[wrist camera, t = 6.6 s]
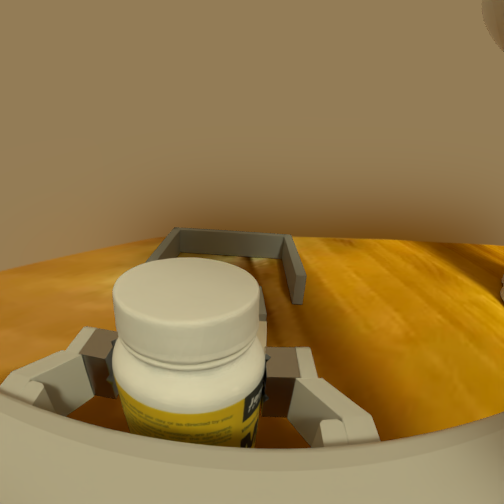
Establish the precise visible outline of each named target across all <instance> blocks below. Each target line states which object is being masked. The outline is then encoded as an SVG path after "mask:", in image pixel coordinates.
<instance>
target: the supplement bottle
mask: <svg viewBox="0 0 504 504" xmlns="http://www.w3.org/2000/svg"><path fill="white" fill-rule="evenodd" d="M259 299H260V289H259V285H258V283H257V281H256V279H255V278H254V277H253V276H252V275H251V274H250V273H248V272H247V271H245V270H244V269H242V268H240V267H238V266H235V265H232V264H229V263H226V262H222V261H218V260H213V259H206V258H194V257H184V258H169V259H162V260H156V261H151V262H147V263H144V264H141V265H138V266H136V267H133V268H131V269H130V270H128V271H126V272H125V273H124V274H122V275H121V276H120V277H119V278H118V279H117V281H116V283H115V285H114V288H113V304H114V313H115V321H116V329H117V332H118V336H119V337H118V339H117V341H116V343H115V346H114V349H113V355H112V369H113V374H114V378H115V382H116V386H117V389H118V393H119V396H120V400H121V403H122V407H123V411H124V414H125V417H126V421H127V424H128V427H129V430H130V433H131V434H136V435H141V436H146V437H152V438H158V439H164V440H171V441H178V442H185V443H193V444H202V445H212V446H224V447H239V448H254V447H255V441H256V434H257V427H258V420H259V412H260V404H261V396H262V387H263V382H264V375H265V354H264V350H263V347H262V345H261V343H260V341H259V339H258V337H257V336H256V334H257V331H258V328H259Z"/></svg>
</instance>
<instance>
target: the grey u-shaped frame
mask: <svg viewBox="0 0 504 504" xmlns="http://www.w3.org/2000/svg"><path fill="white" fill-rule="evenodd" d="M180 252H187V253H202V254H217V255H232V256H247V257H262V258H277V259H282V261H283V266H284V270H285V274H286V278H287V283H288V287H289V292H290V296H291V300H292V304H302V303H303V296H304V290H305V283H306V273H305V270H304V268H303V265H302V262H301V260H300V257H299V254H298V252H297V249H296V247H295V244H294V241H293V239H292V236H291V235H286V234H271V233H257V232H243V231H242V232H241V231H227V230H210V229H194V228H193V229H192V228H177V227H176V228H174V229H173V230H172V231H171V232H170V234H168V236H167V237H166V238H165V239H164V240H163V242H162V243H161V244H160V245H159V246H158V248H157V249H156V250H155V251H154V252H153V254H152V255H151V256H150V257H149V259H148V260H147V261H146V262H145V263H147V262H151V261H156V260H162V259H169V258H177V256H178V255H179V253H180Z"/></svg>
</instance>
